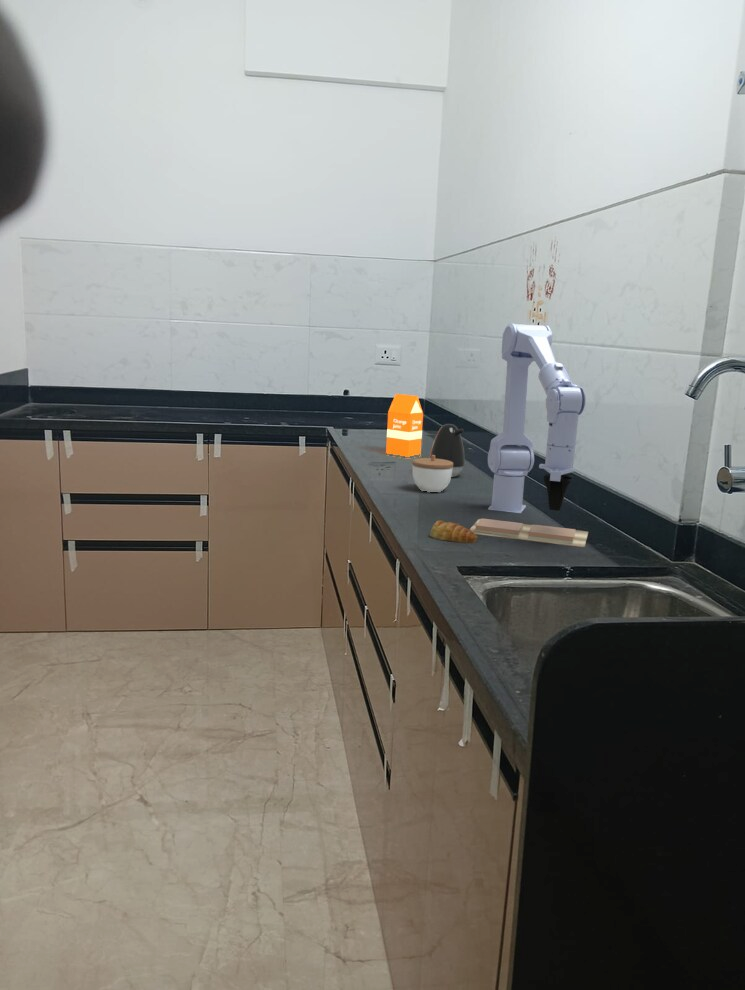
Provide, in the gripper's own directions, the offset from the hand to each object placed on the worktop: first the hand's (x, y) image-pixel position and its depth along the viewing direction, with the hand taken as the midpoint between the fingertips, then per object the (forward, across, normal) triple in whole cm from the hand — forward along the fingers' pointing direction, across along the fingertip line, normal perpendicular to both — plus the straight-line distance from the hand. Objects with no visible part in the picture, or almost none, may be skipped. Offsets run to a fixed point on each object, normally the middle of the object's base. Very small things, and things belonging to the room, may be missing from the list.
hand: (554, 509), depth 174 cm
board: (+6, 0, -5) cm, 8 cm away
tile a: (+5, -2, -11) cm, 12 cm away
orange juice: (+6, -88, -57) cm, 105 cm away
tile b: (+5, -2, 0) cm, 5 cm away
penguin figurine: (+6, -60, -36) cm, 70 cm away
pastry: (+7, +12, -19) cm, 23 cm away
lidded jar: (+6, -36, -35) cm, 51 cm away
